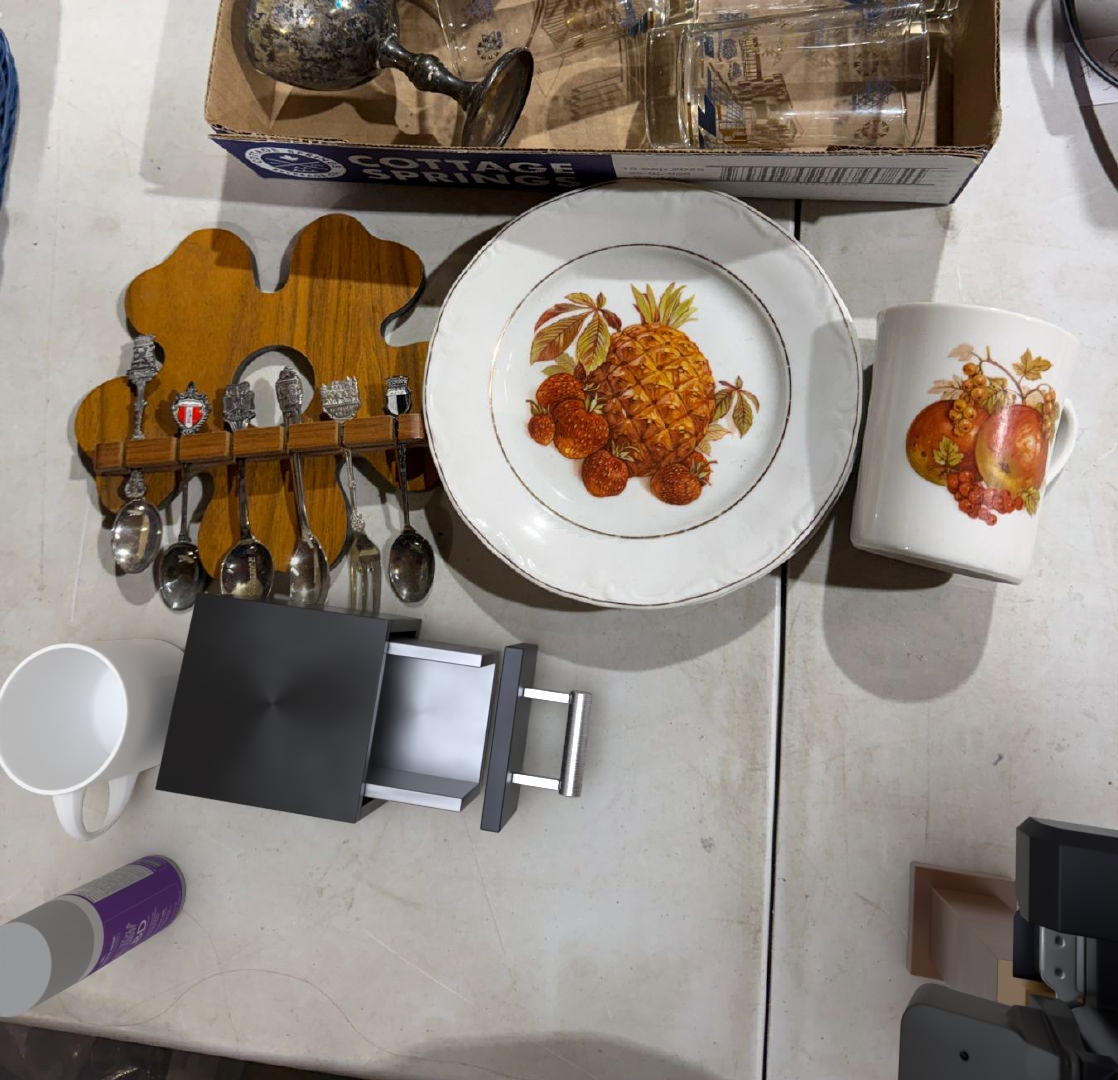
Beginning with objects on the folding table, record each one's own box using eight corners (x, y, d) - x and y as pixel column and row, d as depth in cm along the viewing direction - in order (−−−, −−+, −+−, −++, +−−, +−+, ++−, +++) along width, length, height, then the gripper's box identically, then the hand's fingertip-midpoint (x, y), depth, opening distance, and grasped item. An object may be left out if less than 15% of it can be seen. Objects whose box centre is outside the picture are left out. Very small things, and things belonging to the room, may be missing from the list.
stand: (1009, 986, 61) (1108, 1098, 47) (906, 968, 62) (973, 1072, 48) (1011, 877, 62) (1107, 954, 48) (910, 861, 63) (976, 932, 49)
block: (1085, 1069, 47) (1121, 1110, 44) (995, 1052, 48) (1023, 1091, 44) (1085, 974, 48) (1121, 1005, 44) (997, 958, 49) (1025, 988, 45)
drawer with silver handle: (601, 653, 68) (594, 658, 61) (582, 822, 65) (572, 846, 58) (374, 621, 70) (343, 622, 63) (347, 783, 67) (311, 801, 61)
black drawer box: (422, 618, 70) (388, 619, 62) (394, 798, 67) (355, 824, 59) (251, 594, 72) (196, 592, 64) (216, 768, 69) (154, 789, 61)
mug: (74, 819, 69) (-30, 856, 59) (98, 636, 72) (2, 641, 62) (194, 824, 68) (109, 863, 58) (213, 639, 72) (135, 644, 61)
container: (182, 934, 67) (46, 1023, 52) (114, 930, 67) (-38, 1017, 53) (189, 856, 68) (59, 921, 54) (123, 853, 68) (-23, 917, 54)
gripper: (948, 835, 38) (871, 771, 53) (928, 1447, 33) (850, 1188, 48) (1270, 886, 36) (1097, 806, 51) (1295, 1536, 32) (1097, 1240, 47)
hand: (1030, 1001), depth 50 cm, fingers closed on block, stand, 4 cm apart
